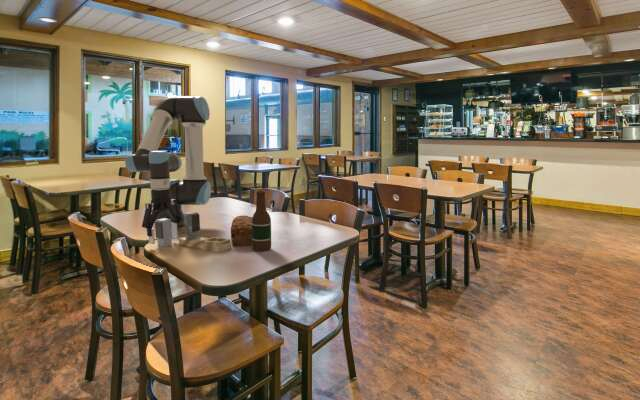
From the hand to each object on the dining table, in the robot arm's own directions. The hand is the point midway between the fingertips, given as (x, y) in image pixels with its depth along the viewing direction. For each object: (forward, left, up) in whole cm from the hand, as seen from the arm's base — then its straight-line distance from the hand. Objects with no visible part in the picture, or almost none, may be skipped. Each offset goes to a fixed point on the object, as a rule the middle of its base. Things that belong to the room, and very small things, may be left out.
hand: (163, 240), depth 168 cm
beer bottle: (+39, +16, -2) cm, 42 cm away
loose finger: (0, 0, -2) cm, 2 cm away
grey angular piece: (+16, +7, -2) cm, 18 cm away
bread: (+24, +23, -2) cm, 33 cm away
